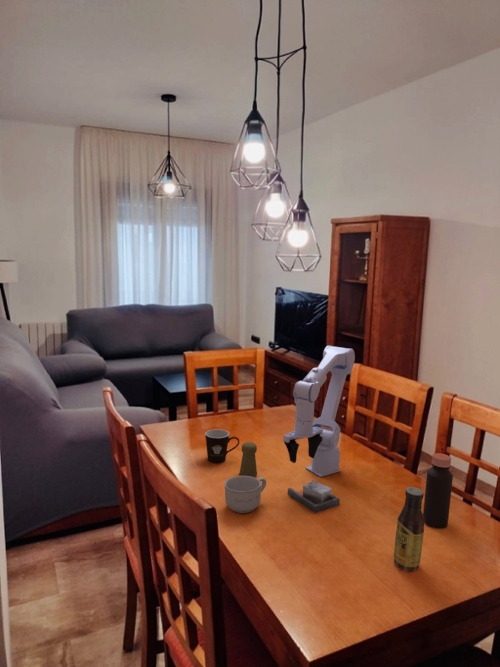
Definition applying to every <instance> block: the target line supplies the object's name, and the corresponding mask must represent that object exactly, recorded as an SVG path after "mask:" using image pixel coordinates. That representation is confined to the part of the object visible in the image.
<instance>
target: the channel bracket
mask: <svg viewBox="0 0 500 667" xmlns="http://www.w3.org/2000/svg"><path fill="white" fill-rule="evenodd" d="M287 495H288V496H289V497H291V498H292V499H293V500H295V501H297V502H298V503H299V504H301V505H302V506H304V507H305V508H306V509H308V510H309V511H310V512H312V513H313V514H318V513H320V512H324V511H326V510H328V509H332V508H335V507H337V506H340V500H341V499H340V498H338V497H337V496H336V495H334V494H332V493H331V500H328V501H325V502H322V503H319V504H316V505H315V504H314V503H312V502H311V501H309V500H308V499H306V498H305V497H304V496H302V495H303V494H301V493H299V492H297V491H296V490H295V489H293V488H292V487H288V488H287Z"/></svg>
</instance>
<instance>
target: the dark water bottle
mask: <svg viewBox="0 0 500 667" xmlns="http://www.w3.org/2000/svg"><path fill="white" fill-rule="evenodd" d="M451 463H452V457H451V456H450V455H448V454H445V453H440V452H439V453H438V452H437V453H433V454H432V456H431V465H432V467H430V468H429V469H427V472H426V481H425V492H424V498H423V499H424V500H423V510H422V513H423V515H424V519H425V522H424V525H426V526H428V527H430V528H431V529H437V530H442V529H443V530H444V529H446V528H447V527H448V525H449V516H450V510H451V509H450V508H451V507H450V506H451V498H452V488H453V479H454V475H453V474H452V472H451V471H450V468H451Z"/></svg>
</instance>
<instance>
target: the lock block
mask: <svg viewBox="0 0 500 667" xmlns="http://www.w3.org/2000/svg"><path fill="white" fill-rule="evenodd" d="M331 494H332V487H330V486H327V485H324V484H322V483H320V482H318V481H315V480H311V481H309V482H308V483H305V484H303V485H302V494H301V495H302V496H304V497H305V498H306V499H308V500H309V501H311V502H312V503H314V504H315V505H316V504H319V503H322V502H325V501H328V500H331Z"/></svg>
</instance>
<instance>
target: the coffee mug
mask: <svg viewBox="0 0 500 667" xmlns="http://www.w3.org/2000/svg"><path fill="white" fill-rule="evenodd" d="M204 435H205V436H204V437H205V445H206V456H207V461H208V462H209V463H210V464H217V465H218V464H223V463H225V462H226V460H227V459H226V458H227V454H228V453H230V452H231V451H233V450H235V449H236V448H237V447H238V446H239V444H240V439H239V438H238V437H236V436H231V437H230V432H229V431H227V430H225V429H219V428H218V429H210V430H207V431H205V434H204ZM233 439H234V440H235V439H236V440H237V443H236V445H235V446H234V447H232V448H230V449H229V450H228V445H229V443H230V441H231V440H233Z"/></svg>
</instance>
